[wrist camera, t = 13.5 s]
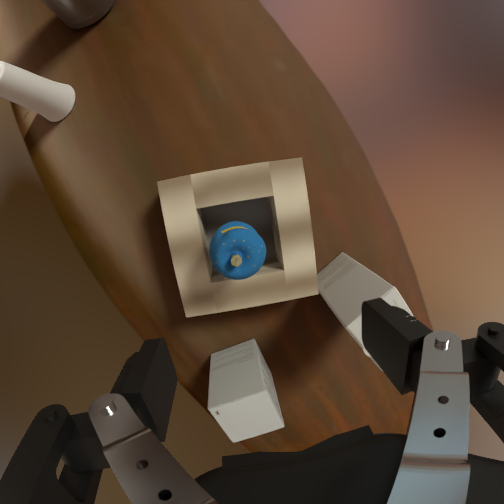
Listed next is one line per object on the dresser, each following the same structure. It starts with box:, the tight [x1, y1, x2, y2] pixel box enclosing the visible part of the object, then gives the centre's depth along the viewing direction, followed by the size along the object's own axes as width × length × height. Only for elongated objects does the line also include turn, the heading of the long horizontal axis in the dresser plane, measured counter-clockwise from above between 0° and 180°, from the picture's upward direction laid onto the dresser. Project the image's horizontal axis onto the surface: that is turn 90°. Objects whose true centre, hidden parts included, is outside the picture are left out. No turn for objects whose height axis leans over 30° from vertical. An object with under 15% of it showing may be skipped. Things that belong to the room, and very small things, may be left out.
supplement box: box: [208, 339, 285, 442], centre depth 37 cm, size 7×7×13 cm
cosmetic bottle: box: [0, 61, 75, 122], centre depth 21 cm, size 6×6×22 cm
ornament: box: [209, 221, 266, 280], centre depth 31 cm, size 5×5×15 cm
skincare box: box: [317, 252, 414, 371], centre depth 34 cm, size 8×7×16 cm
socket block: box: [157, 158, 319, 317], centre depth 36 cm, size 16×16×6 cm
